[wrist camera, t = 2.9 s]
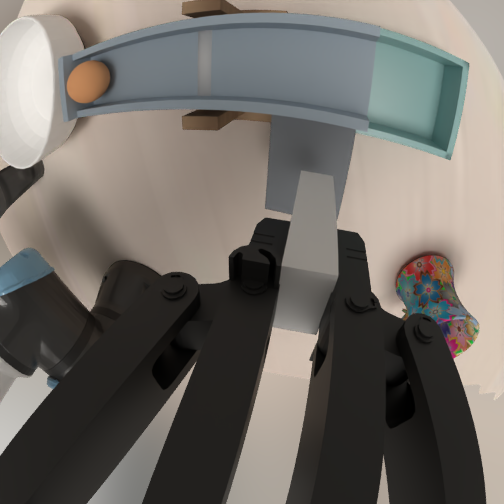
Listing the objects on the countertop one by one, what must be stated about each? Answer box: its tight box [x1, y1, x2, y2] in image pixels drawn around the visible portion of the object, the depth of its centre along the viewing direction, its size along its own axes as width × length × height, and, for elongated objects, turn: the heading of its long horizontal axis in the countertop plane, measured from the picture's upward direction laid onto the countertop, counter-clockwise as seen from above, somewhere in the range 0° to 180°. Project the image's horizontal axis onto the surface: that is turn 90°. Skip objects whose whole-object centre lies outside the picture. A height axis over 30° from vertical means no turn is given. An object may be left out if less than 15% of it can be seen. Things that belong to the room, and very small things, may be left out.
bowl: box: [0, 14, 84, 169], centre depth 19 cm, size 20×20×8 cm
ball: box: [67, 60, 110, 103], centre depth 14 cm, size 4×4×4 cm
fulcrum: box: [182, 0, 287, 130], centre depth 16 cm, size 8×11×10 cm
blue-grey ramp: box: [58, 13, 380, 218], centre depth 15 cm, size 22×13×4 cm, turn 88°
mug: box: [396, 255, 479, 358], centre depth 26 cm, size 12×9×11 cm
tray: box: [355, 28, 469, 160], centre depth 16 cm, size 12×9×4 cm
